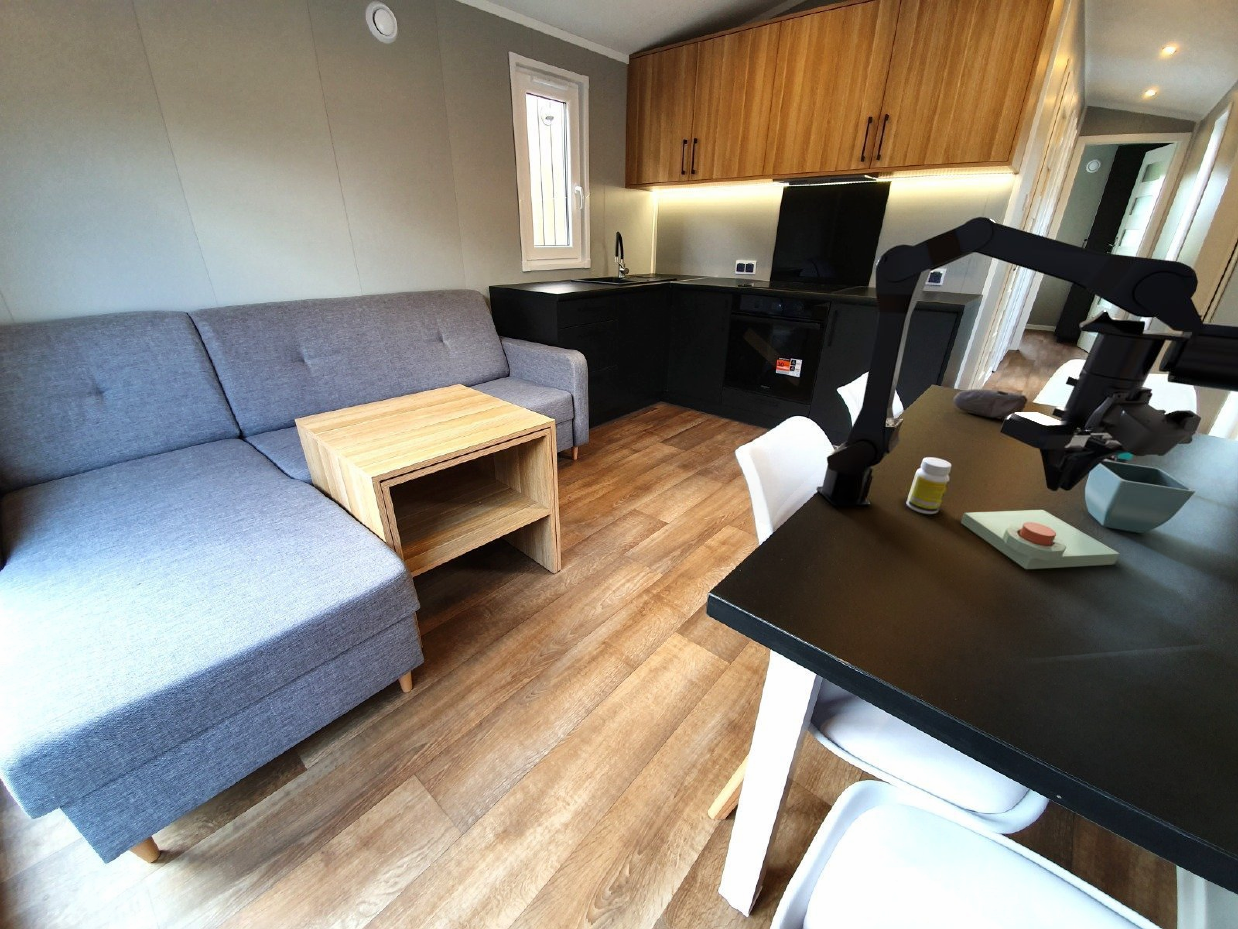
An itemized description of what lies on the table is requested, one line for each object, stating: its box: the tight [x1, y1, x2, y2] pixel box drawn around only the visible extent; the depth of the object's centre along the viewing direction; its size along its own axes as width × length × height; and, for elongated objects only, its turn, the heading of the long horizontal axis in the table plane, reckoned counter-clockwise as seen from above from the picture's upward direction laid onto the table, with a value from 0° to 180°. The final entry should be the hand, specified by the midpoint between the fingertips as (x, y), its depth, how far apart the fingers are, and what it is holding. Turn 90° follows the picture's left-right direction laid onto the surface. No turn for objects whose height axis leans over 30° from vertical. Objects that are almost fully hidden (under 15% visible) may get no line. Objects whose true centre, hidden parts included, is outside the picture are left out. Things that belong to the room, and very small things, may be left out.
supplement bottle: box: [905, 456, 952, 515], centre depth 80 cm, size 5×5×8 cm
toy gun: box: [1105, 453, 1134, 464], centre depth 100 cm, size 10×12×5 cm
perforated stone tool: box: [953, 388, 1029, 421], centre depth 126 cm, size 15×5×7 cm, turn 45°
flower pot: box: [1084, 460, 1196, 534], centre depth 77 cm, size 9×9×9 cm
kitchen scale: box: [960, 509, 1121, 570], centre depth 72 cm, size 15×13×4 cm
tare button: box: [1019, 522, 1056, 546], centre depth 68 cm, size 4×4×2 cm
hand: (1058, 489), depth 65 cm, fingers closed
